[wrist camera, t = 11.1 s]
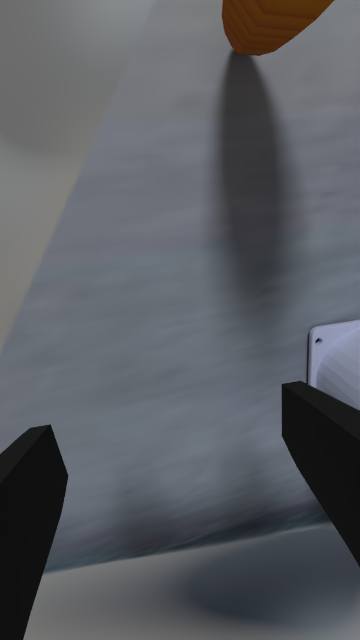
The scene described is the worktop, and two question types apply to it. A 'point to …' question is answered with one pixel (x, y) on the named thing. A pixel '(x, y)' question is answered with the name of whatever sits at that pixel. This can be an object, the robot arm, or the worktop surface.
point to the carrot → (267, 22)
